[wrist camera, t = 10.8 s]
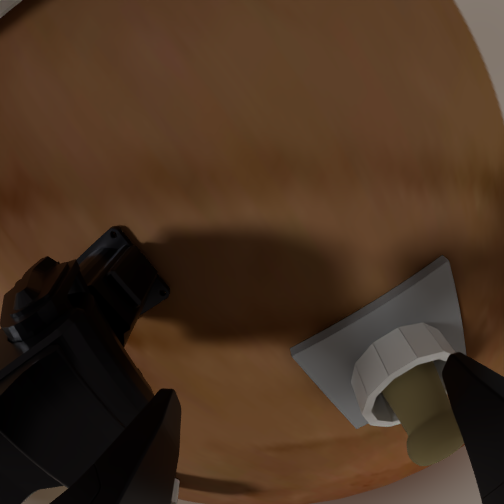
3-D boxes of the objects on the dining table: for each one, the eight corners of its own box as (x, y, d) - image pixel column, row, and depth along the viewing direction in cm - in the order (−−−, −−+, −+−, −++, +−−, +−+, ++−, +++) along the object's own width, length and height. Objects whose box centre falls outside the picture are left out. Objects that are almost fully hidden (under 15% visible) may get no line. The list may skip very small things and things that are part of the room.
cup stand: (354, 422, 29) (364, 455, 25) (290, 348, 24) (298, 393, 19) (463, 358, 26) (483, 386, 22) (442, 255, 21) (476, 284, 16)
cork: (435, 354, 24) (485, 436, 14) (390, 391, 26) (425, 477, 16) (410, 328, 22) (469, 424, 12) (359, 371, 24) (396, 473, 14)
